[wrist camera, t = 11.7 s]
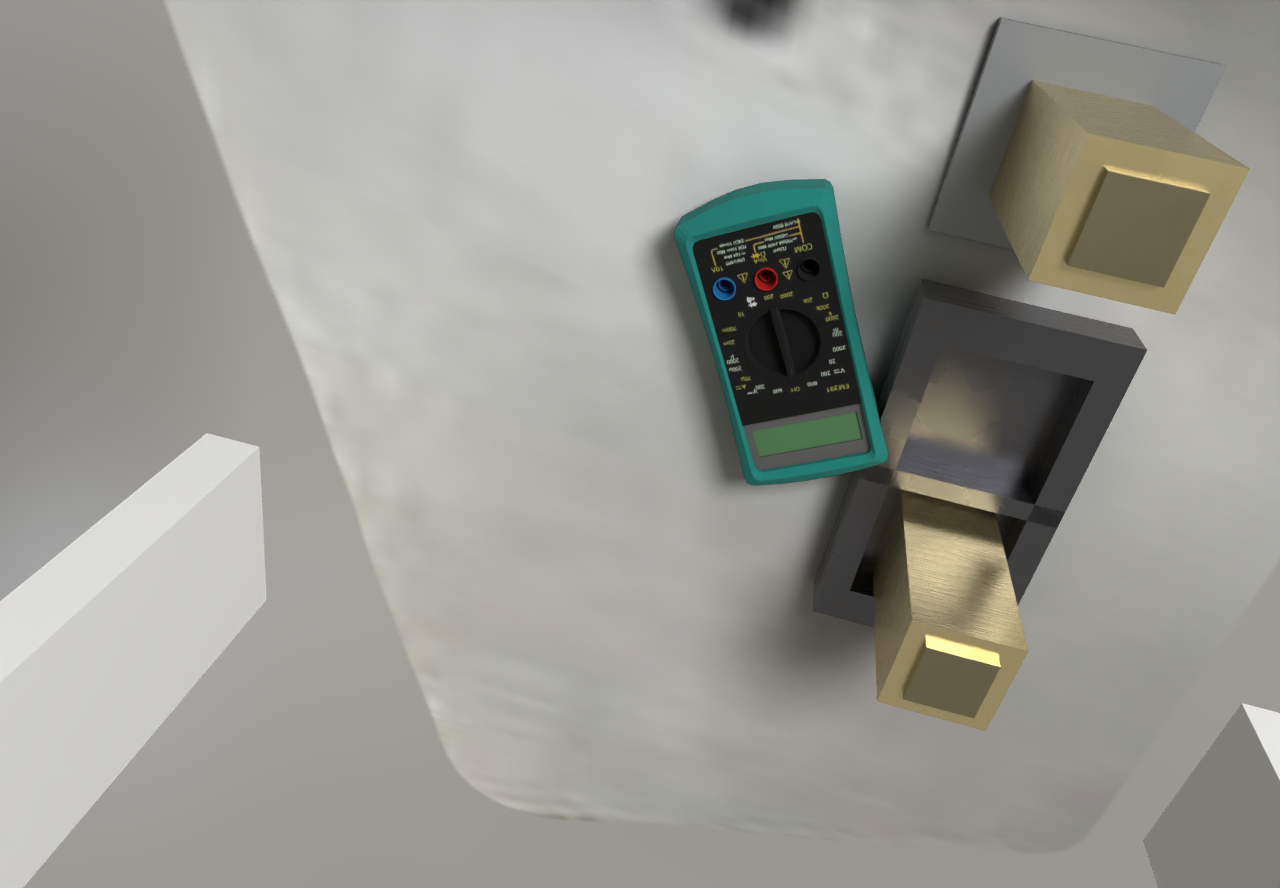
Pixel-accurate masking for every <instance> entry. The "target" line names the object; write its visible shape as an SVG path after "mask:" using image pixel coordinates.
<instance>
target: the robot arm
mask: <svg viewBox="0 0 1280 888" xmlns="http://www.w3.org/2000/svg"><path fill="white" fill-rule="evenodd" d="M260 472H261V471H260V451H259V447H258V446H254V445H250V444H246V443H242V442H239V441H235V440H231V439H227V438H223V437H219V436H215V435H212V434H208V433H207V434H206V435H204V436H203V437H202V438H201V439H199V440H198V441H197V442H195V443H194V444H193V445H192V446H191V447H189V448H188V449H187V450H186V451H184V452H183V453H182V454H181V455H180V456H178V457H177V458H176V459H175V460H173V461H172V462H171V463H170V464H169V465H167V466H166V467H165V468H164V469H162V470H161V471H160V472H159V473H157V474H156V475H155V476H154V477H152V478H151V479H150V480H149V481H148V482H146V483H145V484H144V485H143V486H141V487H140V488H139V489H138V490H136V491H135V492H134V493H133V494H132V495H130V496H129V497H128V498H127V499H126V500H124V501H123V502H122V503H121V504H119V505H118V506H117V507H116V508H114V509H113V510H112V511H111V512H110V513H108V514H107V515H106V516H105V517H103V518H102V519H101V520H100V521H98V522H97V523H96V524H95V525H93V526H92V527H91V528H90V529H89V530H87V531H86V532H85V533H84V534H83V535H81V536H80V537H79V538H78V539H76V540H75V541H74V542H73V543H71V544H70V545H69V546H68V547H66V548H65V549H64V550H63V551H62V552H60V553H59V554H58V555H57V556H55V557H54V558H53V559H52V560H51V561H49V562H48V563H47V564H46V565H44V566H43V567H42V568H41V569H40V570H38V571H37V572H36V573H35V574H33V575H32V576H31V577H30V578H28V579H27V580H26V581H25V582H23V583H22V584H21V585H20V586H19V587H17V588H16V589H15V590H14V591H13V592H11V593H10V594H9V595H7V596H6V597H5V598H4V599H3V600H1V601H0V888H23V887H24V886H25V885H26V884H27V882H28V881H29V880H30V879H31V878H32V877H33V875H34V874H35V873H36V872H37V871H38V870H39V868H40V867H41V866H42V865H43V864H44V862H45V861H46V860H47V859H48V858H49V857H50V855H51V854H52V853H53V852H54V851H55V849H56V848H57V847H58V846H59V845H60V843H61V842H62V841H63V840H64V839H65V838H66V836H67V835H68V834H69V833H70V832H71V831H72V829H73V828H74V827H75V826H76V825H77V823H78V822H79V821H80V820H81V819H82V817H83V816H84V815H85V814H86V813H87V812H88V810H89V809H90V808H91V807H92V806H93V804H94V803H95V802H96V801H97V800H98V799H99V797H100V796H101V795H102V794H103V793H104V791H105V790H106V789H107V788H108V787H109V786H110V784H111V783H112V782H113V781H114V780H115V778H116V777H117V776H118V775H119V774H120V773H121V771H122V770H123V769H124V767H126V765H127V764H128V763H129V762H130V761H131V759H132V758H133V757H134V756H135V755H136V754H137V752H138V751H139V750H140V749H141V748H142V747H143V745H144V744H145V743H146V742H147V740H148V739H149V738H150V737H151V736H152V735H153V734H154V732H155V731H156V730H157V729H158V728H159V726H160V725H161V724H162V723H163V722H164V720H165V719H166V718H167V717H168V716H169V715H170V713H171V712H172V711H173V710H174V709H175V708H176V706H177V705H178V704H179V703H180V702H181V700H182V699H183V698H184V697H185V696H186V695H187V693H188V692H189V691H190V690H191V689H192V687H193V686H194V685H195V684H196V683H197V682H198V680H199V679H200V678H201V677H202V675H203V674H204V673H205V672H206V671H207V670H208V669H209V667H210V666H211V665H212V664H213V662H214V661H215V660H216V659H217V658H218V657H219V656H220V654H221V653H222V652H223V651H224V650H225V648H226V647H227V646H228V645H229V644H230V643H231V641H232V640H233V639H234V638H235V637H236V635H237V634H238V633H239V632H240V631H241V630H242V628H243V627H244V626H245V625H246V624H247V622H248V621H249V620H250V619H251V618H252V616H253V615H254V614H255V613H256V612H257V611H258V609H259V608H260V607H261V606H262V605H263V604H264V602H265V601H266V600H267V595H266V576H265V554H264V536H263V535H264V533H263V513H262V493H261V473H260ZM1143 841H1144V844H1145V848H1146V851H1147V854H1148V857H1149V861H1150V864H1151V867H1152V870H1153V873H1154V877H1155V880H1156V883H1157V886H1158V888H1280V713H1277V712H1273V711H1269V710H1265V709H1262V708H1257V707H1254V706H1250V705H1246V704H1243V703H1242V704H1241V705H1240V707H1239V708H1238V709H1237V711H1236V712H1235V714H1234V715H1233V716H1232V718H1231V719H1230V720H1229V722H1228V723H1227V725H1226V726H1225V728H1224V729H1223V730H1222V732H1221V733H1220V734H1219V736H1218V737H1217V738H1216V740H1215V741H1214V743H1213V744H1212V745H1211V747H1210V748H1209V750H1208V751H1207V752H1206V754H1205V755H1204V757H1203V758H1202V759H1201V761H1200V762H1199V764H1198V765H1197V766H1196V768H1195V769H1194V771H1193V772H1192V773H1191V775H1190V776H1189V778H1188V779H1187V780H1186V781H1185V783H1184V784H1183V786H1182V787H1181V789H1180V790H1179V791H1178V793H1177V794H1176V795H1175V797H1174V798H1173V800H1172V801H1171V802H1170V804H1169V805H1168V807H1167V808H1166V809H1165V811H1164V812H1163V813H1162V815H1161V816H1160V818H1159V819H1158V820H1157V822H1156V823H1155V824H1154V826H1153V827H1152V829H1151V830H1150V832H1149V833H1148V834H1147V836H1146V837H1145V839H1144V840H1143Z"/></svg>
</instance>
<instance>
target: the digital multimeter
mask: <svg viewBox="0 0 1280 888" xmlns="http://www.w3.org/2000/svg"><path fill="white" fill-rule="evenodd" d="M674 238H675V241H676V243H677V246H678V249H679V252H680V255H681V258H682V261H683V264H684V266H685V269H686V272H687V275H688V278H689V281H690V284H691V287H692V289H693V292H694V296H695V299H696V302H697V305H698V308H699V311H700V314H701V317H702V320H703V324H704V327H705V330H706V333H707V336H708V339H709V342H710V345H711V348H712V352H713V355H714V359H715V362H716V366H717V370H718V373H719V377H720V381H721V384H722V388H723V392H724V395H725V399H726V403H727V406H728V410H729V414H730V418H731V422H732V427H733V431H734V435H735V439H736V443H737V448H738V452H739V456H740V460H741V465H742V469H743V473H744V477H745V480H746V481H747V483H749V484H751V485H769V484H781V483H790V482H799V481H807V480H813V479H819V478H825V477H830V476H835V475H839V474H844V473H848V472H852V471H856V470H860V469H864V468H868V467H872V466H876V465H879V464H882V463H884V462H885V461H886V460H887V459H888V451H887V447H886V443H885V440H884V436H883V432H882V428H881V425H880V417H879V409H878V405H877V401H876V398H875V394H874V390H873V386H872V383H871V379H870V375H869V371H868V367H867V363H866V359H865V354H864V350H863V345H862V341H861V337H860V332H859V328H858V324H857V319H856V315H855V310H854V305H853V300H852V294H851V289H850V284H849V278H848V273H847V267H846V262H845V256H844V251H843V246H842V240H841V233H840V227H839V221H838V215H837V208H836V202H835V196H834V190H833V186H832V184H831V183H830V182H829V181H827V180H826V179H809V180H784V181H775V182H765V183H760V184H756V185H752V186H748V187H745V188H741V189H737V190H734V191H732V192H730V193H727V194H725V195H723V196H721V197H718V198H716V199H714V200H712V201H710V202H708V203H706V204H704V205H702V206H701V207H699V208H697V209H695V210H693V211H691V212H690V213H688V214H686V215H684V216H683V217H682V218H681V219H680V221H679V223H678V225H677V227H676V229H675V231H674ZM864 452H865V453H864Z"/></svg>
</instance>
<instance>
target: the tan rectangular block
mask: <svg viewBox="0 0 1280 888" xmlns="http://www.w3.org/2000/svg"><path fill="white" fill-rule="evenodd" d="M1248 171H1249V168H1248V167H1246V166H1245V165H1243V164H1242V163H1240V162H1239V161H1237V160H1236V159H1234V158H1232V157H1231V156H1229V155H1228V154H1226V153H1225V152H1223V151H1222V150H1220V149H1219V148H1217V147H1216V146H1214V145H1212V144H1211V143H1209V142H1208V141H1206V140H1205V139H1203V138H1202V137H1200V136H1199V135H1197V134H1196V133H1194V132H1193V131H1191V130H1189V129H1188V128H1186V127H1185V126H1183V125H1182V124H1180V123H1179V122H1177V121H1176V120H1174V119H1173V118H1171V117H1169V116H1168V115H1166V114H1165V113H1163V112H1162V111H1160V110H1159V109H1157V108H1156V107H1154V106H1152V105H1147V104H1142V103H1138V102H1133V101H1129V100H1124V99H1119V98H1115V97H1110V96H1105V95H1101V94H1096V93H1091V92H1087V91H1082V90H1077V89H1073V88H1068V87H1063V86H1059V85H1054V84H1049V83H1045V82H1040V81H1036V80H1032V81H1031V84H1030V86H1029V89H1028V92H1027V94H1026V97H1025V100H1024V102H1023V105H1022V108H1021V110H1020V113H1019V116H1018V118H1017V121H1016V124H1015V126H1014V129H1013V132H1012V135H1011V137H1010V140H1009V143H1008V145H1007V148H1006V151H1005V153H1004V156H1003V159H1002V161H1001V164H1000V167H999V169H998V172H997V175H996V177H995V180H994V183H993V186H992V188H991V191H990V194H989V196H988V197H989V199H990V201H991V203H992V206H993V208H994V210H995V212H996V214H997V216H998V218H999V220H1000V222H1001V224H1002V227H1003V229H1004V231H1005V233H1006V235H1007V237H1008V239H1009V241H1010V243H1011V245H1012V247H1013V250H1014V252H1015V254H1016V256H1017V258H1018V260H1019V262H1020V264H1021V266H1022V268H1023V271H1024V273H1025V275H1026V277H1027V279H1028V280H1029V281H1033V282H1037V283H1041V284H1046V285H1050V286H1054V287H1059V288H1063V289H1067V290H1072V291H1076V292H1080V293H1085V294H1089V295H1093V296H1098V297H1102V298H1106V299H1111V300H1115V301H1119V302H1123V303H1128V304H1132V305H1136V306H1141V307H1145V308H1149V309H1154V310H1158V311H1162V312H1167V313H1171V314H1176V312H1177V310H1178V308H1179V306H1180V304H1181V302H1182V300H1183V298H1184V296H1185V294H1186V292H1187V290H1188V288H1189V286H1190V284H1191V282H1192V281H1193V279H1194V277H1195V275H1196V273H1197V271H1198V269H1199V267H1200V265H1201V263H1202V261H1203V259H1204V257H1205V255H1206V253H1207V251H1208V249H1209V247H1210V245H1211V243H1212V241H1213V240H1214V238H1215V236H1216V234H1217V232H1218V230H1219V228H1220V226H1221V224H1222V222H1223V220H1224V218H1225V216H1226V214H1227V212H1228V210H1229V208H1230V206H1231V204H1232V202H1233V200H1234V199H1235V197H1236V195H1237V193H1238V191H1239V189H1240V187H1241V185H1242V183H1243V181H1244V179H1245V177H1246V175H1247V173H1248Z"/></svg>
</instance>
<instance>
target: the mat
mask: <svg viewBox="0 0 1280 888" xmlns="http://www.w3.org/2000/svg"><path fill="white" fill-rule="evenodd" d="M1225 67H1226V66H1225V65H1222V64H1219V63H1214V62H1209V61H1204V60H1200V59H1195V58H1190V57H1185V56H1181V55H1176V54H1171V53H1166V52H1162V51H1157V50H1152V49H1147V48H1143V47H1138V46H1133V45H1128V44H1124V43H1119V42H1114V41H1109V40H1105V39H1100V38H1095V37H1090V36H1086V35H1081V34H1076V33H1071V32H1066V31H1062V30H1057V29H1052V28H1047V27H1043V26H1038V25H1033V24H1028V23H1024V22H1019V21H1014V20H1009V19H1005V18H1000V19H999V21H998V24H997V27H996V30H995V33H994V36H993V39H992V42H991V45H990V48H989V50H988V53H987V56H986V59H985V62H984V65H983V68H982V71H981V74H980V77H979V80H978V82H977V85H976V88H975V91H974V94H973V97H972V100H971V103H970V106H969V109H968V112H967V114H966V117H965V120H964V123H963V126H962V129H961V132H960V135H959V138H958V141H957V143H956V146H955V149H954V152H953V155H952V158H951V161H950V164H949V167H948V170H947V173H946V175H945V178H944V181H943V184H942V187H941V190H940V193H939V196H938V199H937V202H936V205H935V207H934V210H933V213H932V216H931V219H930V222H929V225H928V229H929V230H930V231H934V232H938V233H943V234H947V235H952V236H956V237H960V238H965V239H969V240H973V241H978V242H982V243H986V244H991V245H995V246H999V247H1004V248H1008V249H1013V247H1012V245H1011V243H1010V241H1009V239H1008V237H1007V235H1006V233H1005V231H1004V229H1003V227H1002V224H1001V222H1000V220H999V218H998V216H997V214H996V212H995V210H994V208H993V206H992V203H991V201H990V199H989V197H988V196H989V194H990V191H991V188H992V186H993V183H994V180H995V177H996V175H997V172H998V169H999V167H1000V164H1001V161H1002V159H1003V156H1004V153H1005V151H1006V148H1007V145H1008V143H1009V140H1010V137H1011V135H1012V132H1013V129H1014V126H1015V124H1016V121H1017V118H1018V116H1019V113H1020V110H1021V108H1022V105H1023V102H1024V100H1025V97H1026V94H1027V92H1028V89H1029V86H1030V84H1031V81H1032V80H1036V81H1040V82H1045V83H1049V84H1054V85H1059V86H1063V87H1068V88H1073V89H1077V90H1082V91H1087V92H1091V93H1096V94H1101V95H1105V96H1110V97H1115V98H1119V99H1124V100H1129V101H1133V102H1138V103H1142V104H1147V105H1152V106H1154V107H1156V108H1157V109H1159V110H1160V111H1162V112H1163V113H1165V114H1166V115H1168V116H1169V117H1171V118H1173V119H1174V120H1176V121H1177V122H1179V123H1180V124H1182V125H1183V126H1185V127H1186V128H1188V129H1189V130H1191V131H1193V132H1194V133H1195V131H1196V129H1197V127H1198V125H1199V123H1200V120H1201V118H1202V116H1203V114H1204V112H1205V110H1206V108H1207V106H1208V103H1209V101H1210V99H1211V97H1212V95H1213V93H1214V91H1215V89H1216V87H1217V84H1218V82H1219V80H1220V78H1221V76H1222V74H1223V72H1224V70H1225Z"/></svg>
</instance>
